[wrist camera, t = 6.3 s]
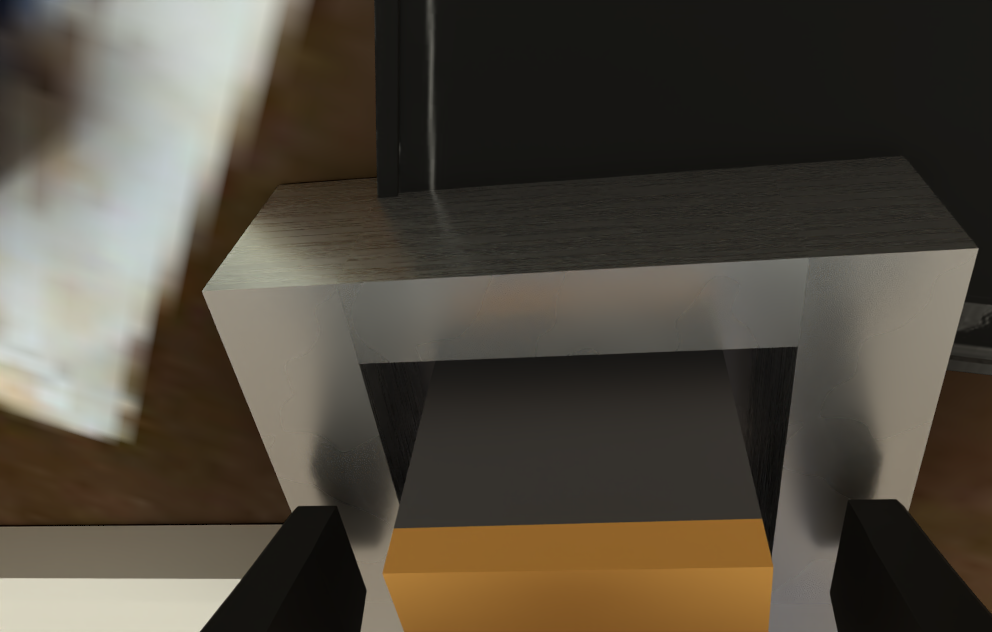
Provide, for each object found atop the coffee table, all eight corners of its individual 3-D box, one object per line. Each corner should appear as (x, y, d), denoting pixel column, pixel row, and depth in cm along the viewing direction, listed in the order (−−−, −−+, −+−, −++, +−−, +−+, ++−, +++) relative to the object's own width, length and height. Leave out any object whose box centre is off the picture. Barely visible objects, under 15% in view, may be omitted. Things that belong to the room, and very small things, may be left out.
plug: (706, 506, 15) (754, 800, 10) (496, 512, 15) (463, 792, 11) (707, 283, 12) (773, 567, 8) (449, 303, 12) (382, 574, 8)
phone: (369, -323, 8) (1925, -181, 7) (391, -315, 9) (1777, -186, 8) (378, 309, 12) (1337, 422, 12) (393, 273, 13) (1284, 376, 13)
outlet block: (780, 765, 21) (805, 896, 19) (454, 753, 22) (438, 874, 20) (889, 139, 11) (978, 248, 8) (278, 184, 12) (201, 291, 10)
